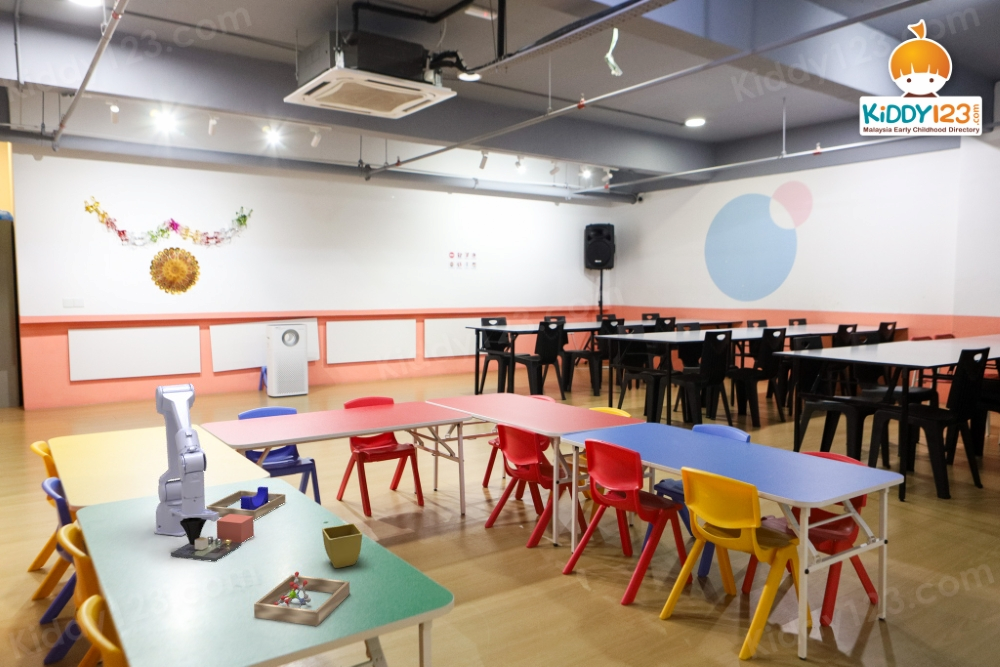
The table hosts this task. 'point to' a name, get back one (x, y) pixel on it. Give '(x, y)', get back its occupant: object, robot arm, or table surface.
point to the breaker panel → (207, 550)
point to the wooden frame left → (221, 504)
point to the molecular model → (293, 593)
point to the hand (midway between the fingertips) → (194, 543)
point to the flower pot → (342, 544)
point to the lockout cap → (235, 527)
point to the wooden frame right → (297, 615)
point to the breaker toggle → (201, 543)
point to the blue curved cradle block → (255, 499)
